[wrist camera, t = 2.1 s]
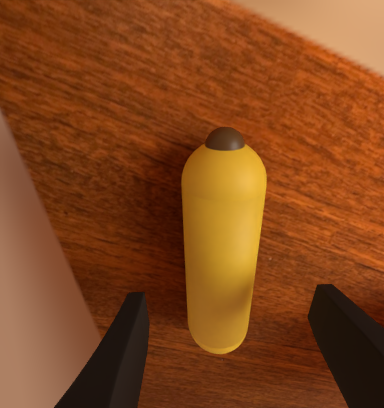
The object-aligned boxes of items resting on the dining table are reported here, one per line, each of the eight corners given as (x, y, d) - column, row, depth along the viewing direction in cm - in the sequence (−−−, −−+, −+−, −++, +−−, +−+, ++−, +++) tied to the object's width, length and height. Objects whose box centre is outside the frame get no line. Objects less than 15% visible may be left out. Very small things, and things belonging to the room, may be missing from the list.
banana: (239, 317, 18) (251, 370, 15) (188, 319, 18) (189, 373, 15) (259, 117, 11) (288, 137, 8) (179, 119, 11) (178, 140, 8)
